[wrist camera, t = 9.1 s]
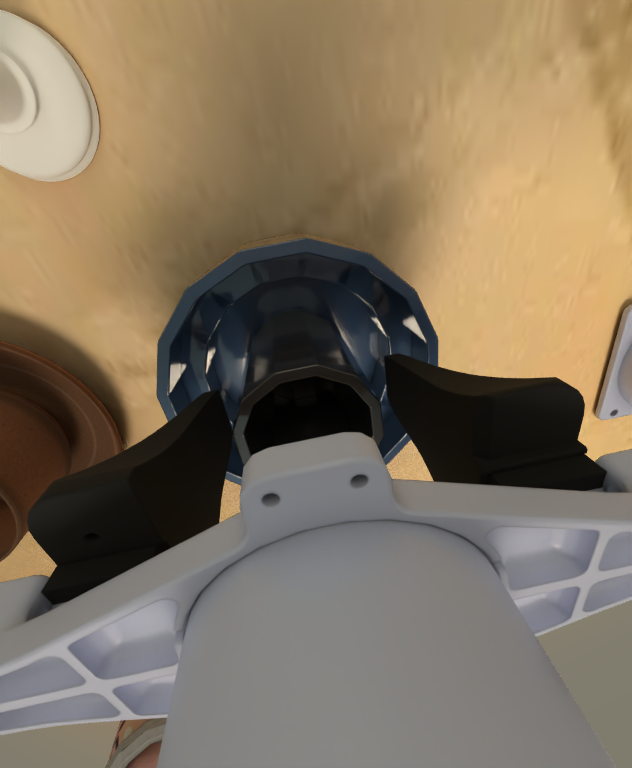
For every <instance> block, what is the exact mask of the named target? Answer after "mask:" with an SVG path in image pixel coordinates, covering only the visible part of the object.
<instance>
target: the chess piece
mask: <svg viewBox="0 0 632 768" xmlns="http://www.w3.org/2000/svg"><path fill="white" fill-rule="evenodd" d="M99 133H100V125H99V115H98V110H97V106H96V102H95V99H94V96H93V93H92V91H91V88H90V86H89V84H88V82H87V80H86V78H85V76H84V74H83V73H82V71H81V69H80V68H79V66H78V65H77V63H76V62H75V61H74V59H73V58H72V57H71V55H70V54H69V53H68V52H67V51H66V50H65V49H64V48H63V47H62V46H61V45H60V44H59V43H58V42H57V41H56V40H55V39H54V38H53V37H52V36H50V35H49V34H48V33H47V32H45V31H44V30H42V29H41V28H39V27H38V26H36V25H34V24H32V23H31V22H29V21H26V20H24V19H22V18H21V17H19V16H17V15H14V14H12V13H10V12H7V11H4V10H0V165H1V166H2V167H4V168H6V169H8V170H10V171H13V172H15V173H18V174H20V175H23V176H25V177H28V178H31V179H34V180H39V181H45V182H58V181H64V180H68V179H70V178H73V177H75V176H77V175H78V174H80V173H81V172H82V171H83V170H84V169H86V167H87V166H88V165H89V164H90V162H91V161H92V159H93V157H94V155H95V153H96V150H97V146H98V142H99Z"/></svg>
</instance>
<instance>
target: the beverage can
mask: <svg viewBox="0 0 632 768" xmlns="http://www.w3.org/2000/svg"><path fill="white" fill-rule="evenodd" d="M166 720H167V718H152V719H137V720H122V721H120V724H119V727H118V731H117V734H116V737H115V741H114V744H113V747H112V751H111V754H110V757H109V760H108V764H107V765H106V767H105V768H156V767H157V762H158V757H159V753H160V748H161V743H162V739H163V734H164V729H165V725H166Z"/></svg>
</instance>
